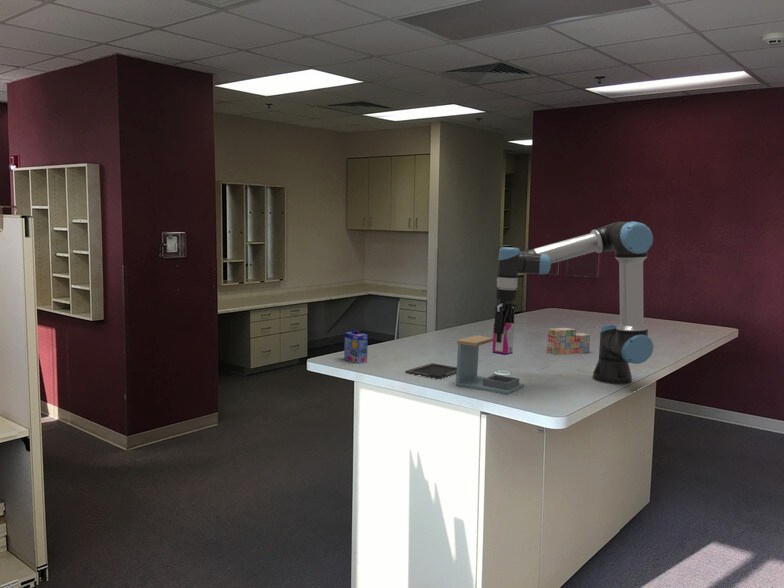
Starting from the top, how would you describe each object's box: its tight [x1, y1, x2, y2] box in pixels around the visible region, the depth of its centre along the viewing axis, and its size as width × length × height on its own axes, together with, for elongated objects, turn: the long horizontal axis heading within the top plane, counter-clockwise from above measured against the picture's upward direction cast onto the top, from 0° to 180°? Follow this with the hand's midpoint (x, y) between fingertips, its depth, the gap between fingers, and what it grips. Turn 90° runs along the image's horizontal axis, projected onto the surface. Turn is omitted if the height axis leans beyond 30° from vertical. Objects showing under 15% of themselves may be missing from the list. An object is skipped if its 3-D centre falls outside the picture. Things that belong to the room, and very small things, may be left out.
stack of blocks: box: [546, 327, 591, 356], centre depth 328 cm, size 21×6×12 cm, turn 114°
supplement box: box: [491, 323, 515, 356], centre depth 249 cm, size 6×6×12 cm
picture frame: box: [405, 362, 457, 380], centre depth 272 cm, size 16×2×21 cm
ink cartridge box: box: [343, 328, 369, 364], centre depth 288 cm, size 10×6×14 cm, turn 44°
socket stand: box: [455, 335, 525, 395], centre depth 252 cm, size 22×16×17 cm
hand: (502, 349), depth 249 cm, fingers closed on supplement box, 6 cm apart
